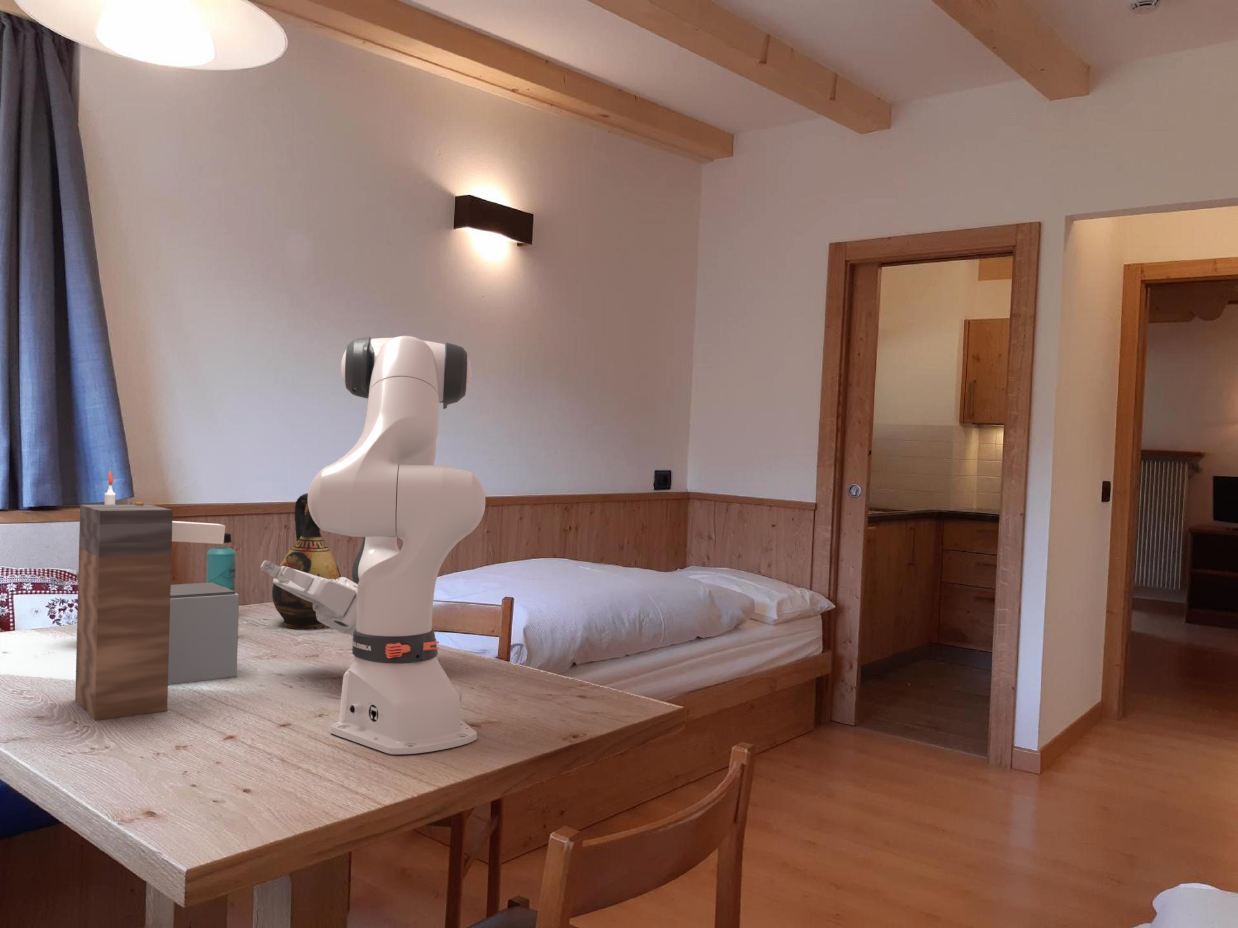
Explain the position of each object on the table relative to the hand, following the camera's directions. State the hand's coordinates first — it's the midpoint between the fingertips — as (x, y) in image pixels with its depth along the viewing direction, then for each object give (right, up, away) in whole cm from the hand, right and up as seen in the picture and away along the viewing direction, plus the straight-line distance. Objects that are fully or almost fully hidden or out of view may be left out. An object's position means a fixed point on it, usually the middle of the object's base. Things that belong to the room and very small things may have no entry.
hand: (273, 567), depth 168 cm
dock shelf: (-19, -20, +7) cm, 28 cm away
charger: (-13, +6, -11) cm, 18 cm away
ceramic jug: (-13, -19, +57) cm, 62 cm away
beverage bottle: (-34, -19, +61) cm, 72 cm away
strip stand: (-19, -20, -14) cm, 31 cm away
